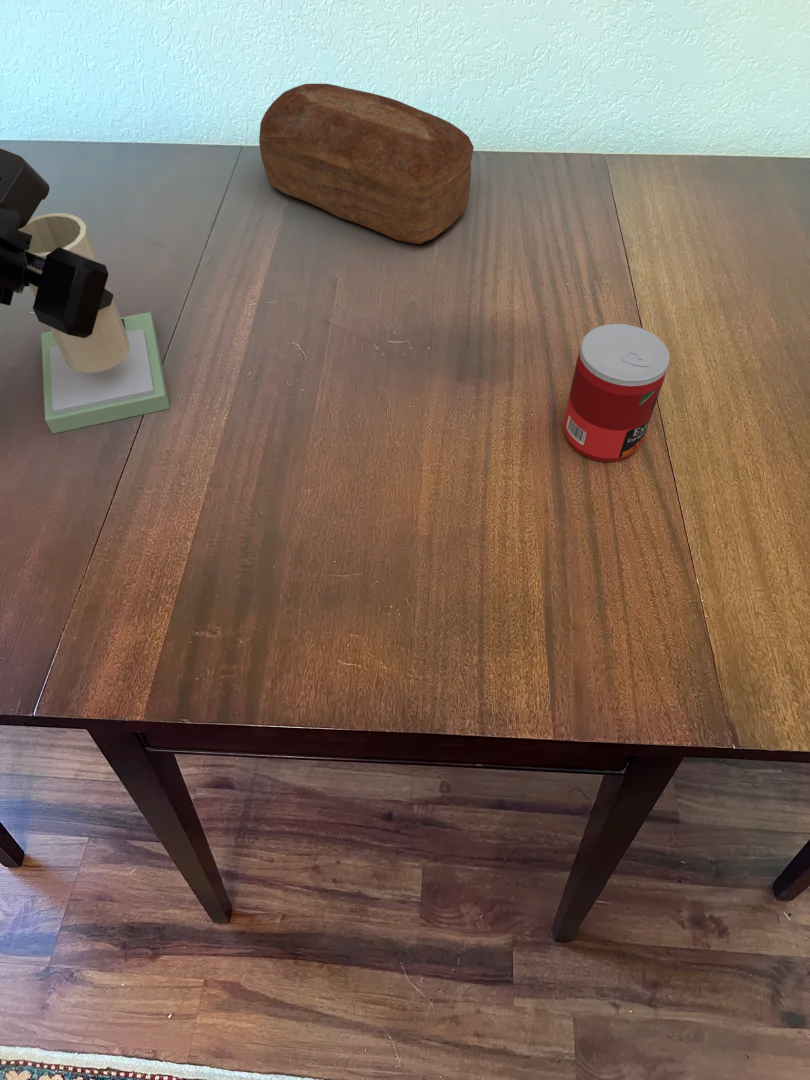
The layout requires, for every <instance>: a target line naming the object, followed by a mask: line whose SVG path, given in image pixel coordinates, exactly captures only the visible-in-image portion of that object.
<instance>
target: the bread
mask: <svg viewBox="0 0 810 1080" xmlns="http://www.w3.org/2000/svg"><path fill="white" fill-rule="evenodd" d="M258 135H259V136H258V144H259V151H260V158H261V162H262V166H263V168H264V171H265V174H266V177H267V179H268V183H269V185H271V186H272V187H274V188H276V189H277V190H279V191H280V192H281V193H283V194H285V195H286V196H288V197H292V198H294V199H297V200H300V201H304V202H306V203H308V204H311V205H313V206H316V207H317V208H320V209H322V210H323V211H326V212H328V213H330V214H332V215H334V216H336V217H338V218H340V219H343V220H346V221H348V222H352V223H355V224H358V225H361V226H363V227H366V228H368V229H371V230H373V231H375V232H377V233H380V234H383V235H385V236H387V237H389V238H392V239H393V240H396V241H399V242H403V243H410V244H415V245H416V244H417V245H420V244H421V245H422V244H423V243H427V242H428V241H431V240H433V239H434V238H436V237H437V236H439V235H441V233H442V232H444V231H445V230H447V229H448V228H450V227H451V226H452V225H453V224H454V223H455V222H456V221H457V220H458V219H459V218H460V216H462V214H463V213H465V211H466V210H467V208H468V203H469V199H470V194H471V193H470V192H471V177H472V160H473V155H474V154H473V153H474V149H475V147H474V144H473V143H472V141H471V139H470V137H469V135H468V134H466V133H465V132H464V131H463V130H462V129H460V128H459V127H457V126H456V125H454V124H453V123H451V122H450V121H447V120H445V119H444V118H441V117H439V116H436V115H434V114H432V113H429V112H426V111H424V110H422V109H419V108H416V107H415V106H411V105H409V104H407V103H405V102H402V101H400V100H397V99H393V98H391V97H388V96H384V95H381V94H376V93H373V92H368V91H363V90H360V89H355V88H354V89H353V88H349V87H346V86H345V87H344V86H340V85H336V84H330V83H321V82H320V83H304V84H301V85H297V86H295V87H291V88H290V89H287V90H284V91H283V92H282V93H281V94H280V95H279V96H278V97H277V98H276V99H275V100H274V101H272V103H271V104H270V106H269V107H268V108H267V109H266V111H265V112H264V114H263V117H262V119H261V121H260V126H259V134H258Z"/></svg>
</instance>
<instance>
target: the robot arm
mask: <svg viewBox="0 0 810 1080" xmlns="http://www.w3.org/2000/svg"><path fill="white" fill-rule="evenodd" d="M49 194H50V185H49V183H48V182H47V180H45V178H44V177H42V176H41V175H40V174H39V173H38V172H37V170H35V168H34V167H32V166H31V165H30V163H29V162H28V161H26V159H25V158H23V157H22V156H21V155H19V154H17V153H14V152H11V151H9V150H6V149H3V148H1V147H0V304H1V305H4V306H9V307H10V306H11V304H12V300H13V297H14V293H16V294H21V295H22V294H23V292H24V289H25V287H30V286H29V284H28V283H30V284H32V285H34V286H37V287H38V290H37V294H36V298H35V297H34V302H33V305H32V310H33V312H34V314H35V316H36V318H37V320H38V322H39V323H42V324H44V325H46V326H47V327H49V326H50V327H52V328H54V329H57V330H59V331H61V332H63V333H65V334H67V335H71V336H76V337H81V338H87V337H88V336H90V335H91V334H92V332H93V329H94V325H95V321H96V318H97V314H98V311H99V310H101V309H103V308H106V307H108V306H110V305H111V303H112V299H114V294H113V293H112V291H111V292H109V291H108V290H106V289H105V286H106V282H107V283H108V278H109V271H108V268H107V266H106V264H104V263H101V262H100V261H99V262H100V263H99V262H97V261H94V260H92V259H89V258H87V257H85V256H82V255H79V254H77V253H74V252H72V251H69V250H66V249H63V248H60V247H58V248H56V249H55V250H53V251H52V252H50V253H49V254H47V255H46V259H45V258H42V257H40V256H38V255H35V254H33V253H31V252H28V250H29V248H30V244H31V240H32V235H30V234H28V233H25V232H23V231H20V230H19V229H21V228H23V227H24V226H26V224H27V223H28V222H29V220H30V219H31V218H33V215H34V214H35V212H36V211H37V209H38V208H39V206H40V204H41V203H42V201H43V200H46V199H47V197H48V195H49ZM27 265H29V266H32V267H34V268H36V269H39V270H41V271H42V273H39V272H37V271H35V270H32V269H30V268H28V267H27Z"/></svg>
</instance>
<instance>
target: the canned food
mask: <svg viewBox="0 0 810 1080" xmlns="http://www.w3.org/2000/svg"><path fill="white" fill-rule="evenodd" d="M669 364H670V352H669V350H668V347H667V346H666V344H665V342H664V341H663V340H661V338H659V337H658V336H657V335H655V334H654V333H653V332H651V331H649V330H647V329H644V328H642V327H639V326H636V325H632V324H627V323H608V324H603V325H600V326H597V327H595V328H593V329H591V330H589V331H588V332H587V333H586V334H585V336H584V337H583V338H582V340H581V344H580V346H579V350H578V355H577V358H576V361H575V368H574V373H573V377H572V382H571V386H570V391H569V396H568V400H567V406H566V410H565V415H564V420H563V430H564V435H565V439H566V441H567V443H568V444H569V445H570V447H571V448H572V449H573V450H574V451H575V452H577V453H578V454H580V455H581V456H583V457H585V458H587V459H590V460H592V461H596V462H602V463H604V462H605V463H615V462H620V461H623V460H625V459H628V458H629V457H631V456H633V454H635V452H636V451H638V449H640V446H642V443H643V441H644V438H645V435H646V433H647V429H648V427H649V424H650V421H651V418H652V416H653V413H654V410H655V407H656V405H657V401H658V398H659V395H660V392H661V390H662V387H663V384H664V382H665V379H666V375H667V372H668V368H669Z"/></svg>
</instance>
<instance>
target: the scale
mask: <svg viewBox="0 0 810 1080" xmlns="http://www.w3.org/2000/svg"><path fill="white" fill-rule="evenodd" d="M120 318H121V320H122V323H123V326H124V328H125V331H126V334H127V336H128V340H129V344H130V348H129V352H128V354H127V356H126V357H125V358H124V359H123V360H122V361H121V362H120V363H119V364H117V365H116V366H114V367H112V368H110V369H107V370H104V371H100V372H93V373H86V372H80V371H76V370H74V369H72V368H71V367H70V366H68V365H67V363H66V361H65V359H64V357H63V355H62V354H61V352H60V349H59V347H58V345H57V343H56V341H55V339H54V337H53V335H52V332H51V330H50V331H45V332H41V333H40V338H41V339H40V340H41V358H42V359H41V360H42V361H41V362H42V381H43V382H42V383H43V385H42V386H43V402H44V405H43V406H44V422H45V423H46V425H47V427H48V428H49V431H50V433H51V434H58V433H64V432H68V431H73V430H78V429H82V428H86V427H91V426H96V425H100V424H101V425H102V424H105V423H110V422H115V421H120V420H124V419H128V418H129V419H130V418H134V417H137V416H142V415H147V414H152V413H156V412H161V411H166V410H170V409H171V406H170V400H169V394H168V389H167V383H166V378H165V372H164V366H163V360H162V356H161V355H162V354H161V349H160V344H159V339H158V332H157V326H156V323H155V320H154V317H153V315H152V312H151V311H148V312H142V313H138V314H132V315H128V316H122V317H120Z"/></svg>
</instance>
